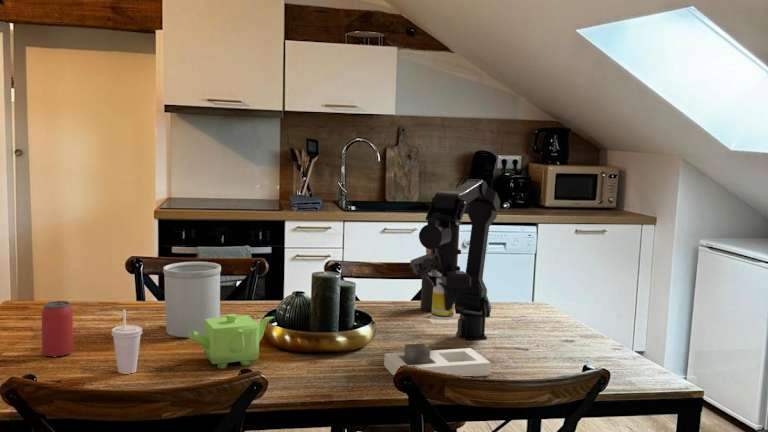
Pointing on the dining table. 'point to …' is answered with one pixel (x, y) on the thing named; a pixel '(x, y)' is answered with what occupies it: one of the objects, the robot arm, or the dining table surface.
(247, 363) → the kettle
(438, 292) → the supplement bottle
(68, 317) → the beer can
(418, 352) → the seated peg
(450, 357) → the white flat block
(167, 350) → the dining table surface
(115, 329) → the smoothie
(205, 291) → the utensil holder
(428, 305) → the vinegar
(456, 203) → the robot arm
